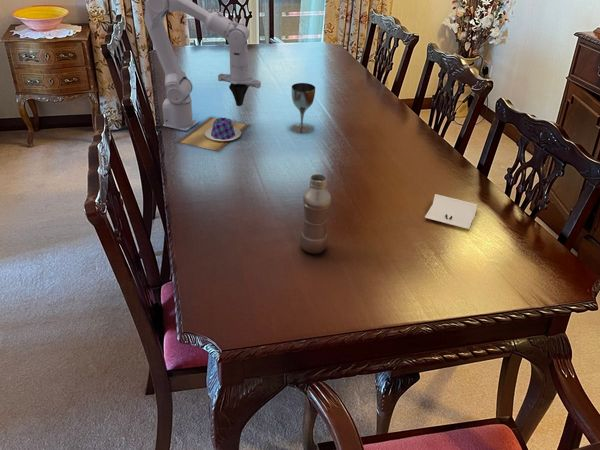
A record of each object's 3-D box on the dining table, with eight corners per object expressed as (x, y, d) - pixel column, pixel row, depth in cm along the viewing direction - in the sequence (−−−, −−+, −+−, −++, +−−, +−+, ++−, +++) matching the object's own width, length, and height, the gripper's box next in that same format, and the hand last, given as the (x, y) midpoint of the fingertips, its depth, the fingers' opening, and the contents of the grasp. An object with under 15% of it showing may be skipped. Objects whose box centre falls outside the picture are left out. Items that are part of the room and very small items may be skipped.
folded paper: (423, 220, 148) (425, 214, 147) (433, 199, 158) (435, 193, 156) (469, 232, 144) (470, 226, 143) (476, 210, 154) (478, 204, 153)
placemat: (177, 142, 180) (177, 141, 180) (210, 117, 198) (210, 117, 198) (218, 151, 176) (218, 151, 176) (248, 125, 193) (248, 125, 193)
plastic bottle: (309, 237, 139) (313, 168, 128) (331, 247, 136) (338, 177, 125) (294, 250, 135) (297, 178, 124) (317, 260, 132) (323, 188, 121)
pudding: (217, 124, 192) (216, 110, 189) (247, 132, 188) (247, 118, 186) (198, 138, 183) (197, 123, 180) (229, 146, 179) (228, 131, 176)
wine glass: (310, 134, 189) (313, 92, 181) (287, 131, 191) (289, 89, 182) (314, 125, 196) (317, 84, 187) (292, 122, 197) (294, 81, 189)
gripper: (212, 64, 176) (214, 105, 183) (253, 72, 171) (254, 113, 179) (223, 58, 181) (224, 98, 189) (263, 65, 177) (263, 105, 185)
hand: (239, 105), depth 184 cm, fingers closed
